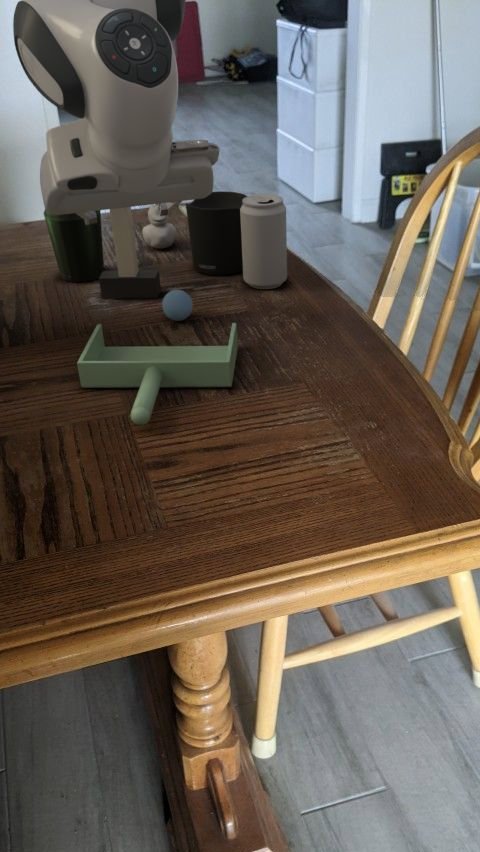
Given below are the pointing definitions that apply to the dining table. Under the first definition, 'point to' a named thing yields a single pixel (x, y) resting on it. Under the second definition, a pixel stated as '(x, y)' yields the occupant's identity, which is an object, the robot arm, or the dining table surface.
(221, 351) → the dustpan
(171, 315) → the foam ball
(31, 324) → the dining table surface
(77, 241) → the potion bottle
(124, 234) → the brush
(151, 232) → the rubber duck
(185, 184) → the robot arm
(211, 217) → the pen holder
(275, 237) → the beverage can
